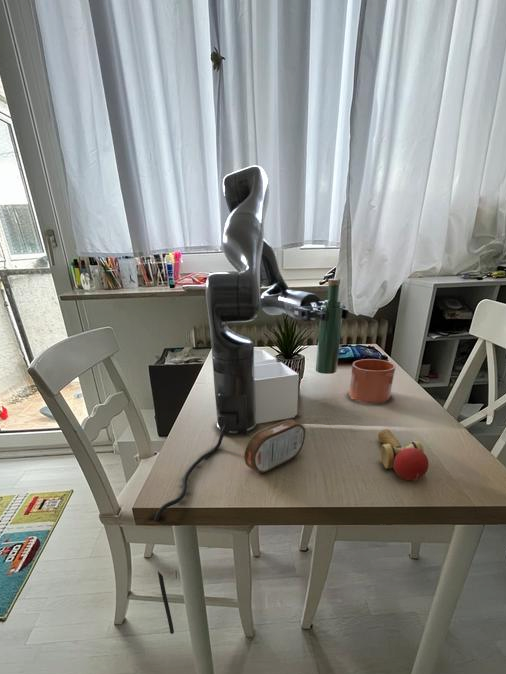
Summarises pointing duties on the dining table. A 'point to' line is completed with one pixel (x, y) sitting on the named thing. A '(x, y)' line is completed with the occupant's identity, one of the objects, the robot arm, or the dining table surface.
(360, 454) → the dining table surface
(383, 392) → the plant pot
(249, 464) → the tin
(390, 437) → the kendama
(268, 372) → the storage container
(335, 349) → the bottle
